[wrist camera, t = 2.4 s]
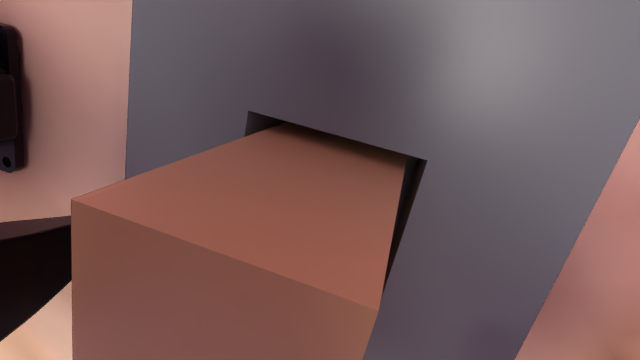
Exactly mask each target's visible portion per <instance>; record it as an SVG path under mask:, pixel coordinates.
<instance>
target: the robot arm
mask: <svg viewBox="0 0 640 360" xmlns="http://www.w3.org/2000/svg"><path fill="white" fill-rule="evenodd" d="M23 167H24V150H23V132H22V114H21V96H20V77H19V59H18V41H17V35H16V33H15V31H14V29H13V28H12V27H11V26H9V25H7V24H4V23H0V170H2V171H5V172H9V173H11V172H16V171H20V170H22V169H23ZM71 280H72V250H71V216H64V217H54V218H43V219H33V220H22V221H12V222H1V223H0V342H1V341H2V340H3V339H4V338H6V337H7V336H8V335H9V334H11V333H12V332H13V331H15V330H16V329H17V328H18V327H20V326H21V325H22V324H23V323H25V322H26V321H27V320H28V319H29V318H31V317H32V316H33V315H34V314H36V313H37V312H38V311H39V310H40V309H41V308H42V307H43V306H44V305H46V304H47V303H48V302H49V301H50V300H51V299H52V298H53V297H54V296H55V295H56V294H57V293H58V292H60V291H61V290H62V289H63V288H64V287H65V286H66V285H67V284H68V283H69V282H70V281H71Z"/></svg>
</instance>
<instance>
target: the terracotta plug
mask: <svg viewBox="0 0 640 360" xmlns="http://www.w3.org/2000/svg"><path fill="white" fill-rule="evenodd" d="M406 160H407V155H406V154H403V153H399V152H396V151H392V150H388V149H385V148H381V147H378V146H374V145H370V144H367V143H363V142H360V141H356V140H352V139H349V138H345V137H342V136H338V135H334V134H331V133H327V132H324V131H320V130H316V129H313V128H309V127H306V126H302V125H299V124H295V123H291V122H285V123H282V124H279V125H276V126H274V127H271V128H268V129H265V130H263V131H260V132H257V133H254V134H251V135H249V136H246V137H243V138H240V139H237V140H235V141H232V142H229V143H226V144H223V145H221V146H218V147H215V148H212V149H210V150H207V151H204V152H201V153H198V154H196V155H193V156H190V157H187V158H184V159H182V160H179V161H176V162H173V163H170V164H168V165H165V166H162V167H159V168H157V169H154V170H151V171H148V172H145V173H143V174H140V175H137V176H134V177H131V178H129V179H126V180H123V181H120V182H117V183H115V184H112V185H109V186H106V187H104V188H101V189H98V190H95V191H92V192H90V193H87V194H84V195H81V196H78V197H76V198H73V199H71V250H72V347H73V360H362V359H363V356H364V353H365V350H366V347H367V344H368V341H369V338H370V335H371V332H372V329H373V326H374V323H375V320H376V317H377V314H378V311H379V307H380V301H381V296H382V290H383V285H384V279H385V274H386V268H387V263H388V258H389V252H390V247H391V241H392V236H393V230H394V225H395V220H396V214H397V209H398V203H399V198H400V192H401V187H402V181H403V176H404V171H405V165H406Z"/></svg>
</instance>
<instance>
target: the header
mask: <svg viewBox="0 0 640 360" xmlns="http://www.w3.org/2000/svg"><path fill="white" fill-rule="evenodd" d="M639 119H640V0H133V3H132V27H131V50H130V73H129V96H128V119H127V143H126V166H125V180H126V179H129V178H131V177H134V176H137V175H140V174H143V173H145V172H148V171H151V170H154V169H157V168H159V167H162V166H165V165H168V164H170V163H173V162H176V161H179V160H182V159H184V158H187V157H190V156H193V155H196V154H198V153H201V152H204V151H207V150H210V149H212V148H215V147H218V146H221V145H223V144H226V143H229V142H232V141H235V140H237V139H240V138H243V137H246V136H249V135H251V134H254V133H257V132H260V131H263V130H265V129H268V128H271V127H274V126H276V125H279V124H282V123H285V122H291V123H295V124H299V125H302V126H306V127H309V128H313V129H316V130H320V131H324V132H327V133H331V134H334V135H338V136H342V137H345V138H349V139H352V140H356V141H360V142H363V143H367V144H370V145H374V146H378V147H381V148H385V149H388V150H392V151H396V152H399V153H403V154H406V155H407V160H406V165H405V171H404V176H403V181H402V187H401V192H400V198H399V203H398V209H397V214H396V220H395V225H394V230H393V236H392V241H391V247H390V252H389V258H388V263H387V268H386V274H385V279H384V285H383V290H382V296H381V301H380V307H379V311H378V314H377V317H376V320H375V323H374V326H373V329H372V332H371V335H370V338H369V341H368V344H367V347H366V350H365V353H364V356H363V359H362V360H514V359H515V358H516V356H517V354H518V352H519V350H520V348H521V346H522V344H523V342H524V340H525V338H526V336H527V334H528V333H529V331H530V329H531V327H532V325H533V323H534V321H535V319H536V317H537V315H538V313H539V311H540V309H541V307H542V306H543V304H544V302H545V300H546V298H547V296H548V294H549V292H550V290H551V288H552V286H553V284H554V282H555V281H556V279H557V277H558V275H559V273H560V271H561V269H562V267H563V265H564V263H565V261H566V259H567V257H568V255H569V254H570V252H571V250H572V248H573V246H574V244H575V242H576V240H577V238H578V236H579V234H580V232H581V230H582V229H583V227H584V225H585V223H586V221H587V219H588V217H589V215H590V213H591V211H592V209H593V207H594V205H595V203H596V202H597V200H598V198H599V196H600V194H601V192H602V190H603V188H604V186H605V184H606V182H607V180H608V178H609V177H610V175H611V173H612V171H613V169H614V167H615V165H616V163H617V161H618V159H619V157H620V155H621V153H622V151H623V150H624V148H625V146H626V144H627V142H628V140H629V138H630V136H631V134H632V132H633V130H634V128H635V126H636V124H637V123H638V121H639Z"/></svg>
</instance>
